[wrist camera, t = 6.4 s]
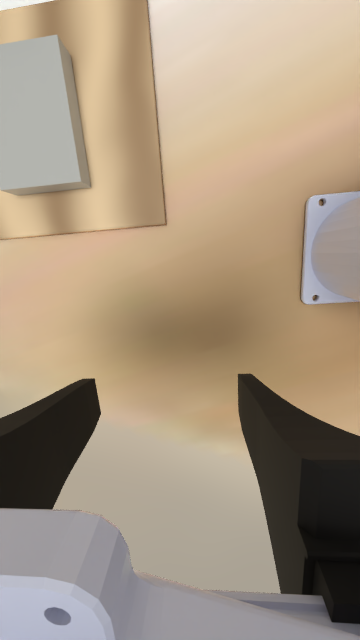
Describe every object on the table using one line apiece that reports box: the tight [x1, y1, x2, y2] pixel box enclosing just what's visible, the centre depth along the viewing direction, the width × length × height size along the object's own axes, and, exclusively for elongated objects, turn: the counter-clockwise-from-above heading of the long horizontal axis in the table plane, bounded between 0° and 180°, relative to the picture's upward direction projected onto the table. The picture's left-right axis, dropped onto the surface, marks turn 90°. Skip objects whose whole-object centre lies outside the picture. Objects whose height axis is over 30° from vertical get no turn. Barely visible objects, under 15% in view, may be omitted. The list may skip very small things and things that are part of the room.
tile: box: [0, 35, 91, 196], centre depth 17 cm, size 2×8×6 cm
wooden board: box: [0, 0, 166, 240], centre depth 18 cm, size 15×14×1 cm
